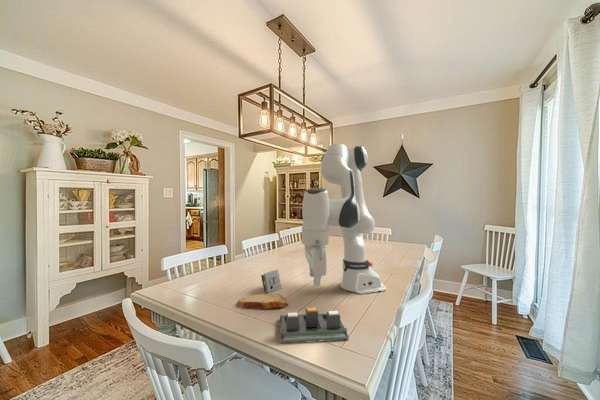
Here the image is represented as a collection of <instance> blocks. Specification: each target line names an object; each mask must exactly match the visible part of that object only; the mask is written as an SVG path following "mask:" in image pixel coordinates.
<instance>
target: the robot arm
mask: <svg viewBox="0 0 600 400" xmlns="http://www.w3.org/2000/svg"><path fill="white" fill-rule="evenodd" d="M368 161H369V155H368V152H367V150H366V148H365V147H364V146H362V145H356V146H350V147H347V146H346V145H345V144H343V143H341V142H334V143H332V144H330V145H329V146H328V147H327V149H326V151H325V153H323V154H322V157H321V163H320V174H321V176H322V177H323V179H324V180H326V181H327V183H330V184H332V185H337V186H340V194H341V198H330V197H329V191H328V189H325V188H323V187H321V188H320V187H313V188H308V189H306V190H305V191H304V194H303V198H302V199H303V200H302V207H301V208H302V209H301V216H302V217H301V218H302V226H301V244H302V245H304V253H305V259H306V261H307V263H308V266H309V268H308V269H309V276H310V277H311V278H313V285H314V287H321V280H322V279H321V278H322V277H323V276H326V275H327V250H326V246H328V245H329V244H330V227H339V228H340V229H341V235H342V240H343V259H342V270H343V271H342V279H341V282H340V287H341V289H343V290H345V291H349V292H353V293H356V294H358V295H363V294H372V292H373V293H379V292H378V291H381V292H386V291H387V287H386V285H385V284H384V283H382V281H381V277H380V274H378V273H377V272H376V271H374V270H373V269H372V267H373V266H374V263H373V262H371V261H369V260H367V244H366V243H365V241H364V237H363V236H364V235H370V234H371V233H372V232H373V231H374V229H375V227H376V223H375V219H374V217H373V216H372V215H371V214H370V212H369V209H368V206H367V204H366V201H365V196H364V188H363V187H364V185H363V180H362V179H363V178H362V173H361V171H363V169H364V168H365V167H366V166H367V164H368ZM385 290H386V291H385Z"/></svg>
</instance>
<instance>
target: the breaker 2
mask: <svg viewBox="0 0 600 400" xmlns="http://www.w3.org/2000/svg"><path fill="white" fill-rule="evenodd" d="M326 313H327V329H336V328H340V320H341V314H340V313H339V311H338V310H329V311H327V312H326Z"/></svg>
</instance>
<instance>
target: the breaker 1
mask: <svg viewBox="0 0 600 400" xmlns="http://www.w3.org/2000/svg"><path fill="white" fill-rule="evenodd" d="M298 314H299V312H287V313H286V315H287V319H286V329H287V331H295V330H299V315H298Z"/></svg>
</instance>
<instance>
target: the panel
mask: <svg viewBox="0 0 600 400" xmlns="http://www.w3.org/2000/svg"><path fill="white" fill-rule="evenodd" d="M298 315H299V330H295V331H287V329H286V319H287V314H279V328H280V329H279V331H280V332H279V333H280V344H294V343H295V342H299V343H308V342H307V341H317V342H320V341H319V340H336V341H341V340H340V339H349V334H348V329H347V327H345V326H344V324H343V322H342V320H341V319H340V328H336V329H327V312H326V313H323V312H322V313H318V326H317V327H307V326H306V313H305V314H304V313H303V314H299V313H298ZM295 344H296V343H295Z"/></svg>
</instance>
